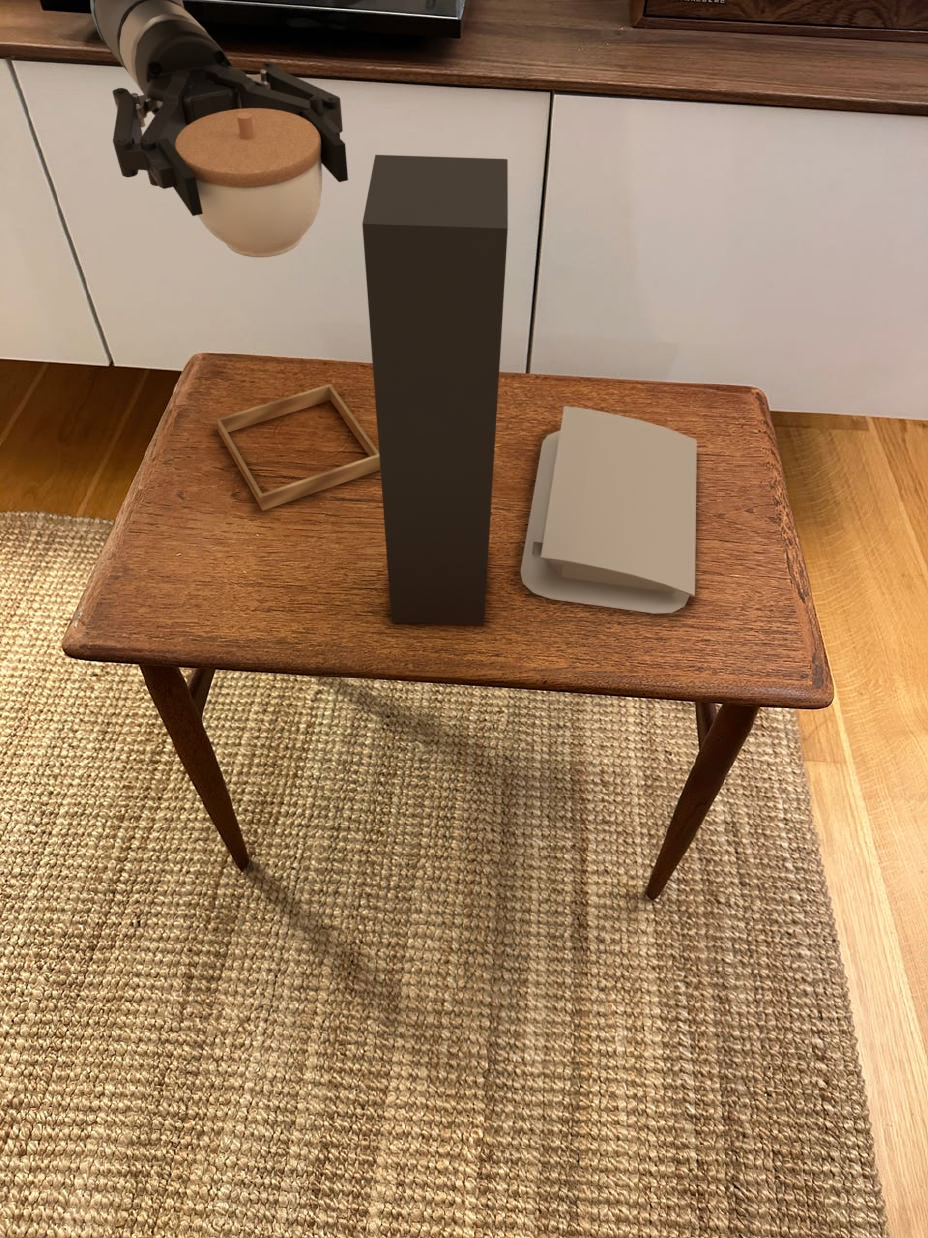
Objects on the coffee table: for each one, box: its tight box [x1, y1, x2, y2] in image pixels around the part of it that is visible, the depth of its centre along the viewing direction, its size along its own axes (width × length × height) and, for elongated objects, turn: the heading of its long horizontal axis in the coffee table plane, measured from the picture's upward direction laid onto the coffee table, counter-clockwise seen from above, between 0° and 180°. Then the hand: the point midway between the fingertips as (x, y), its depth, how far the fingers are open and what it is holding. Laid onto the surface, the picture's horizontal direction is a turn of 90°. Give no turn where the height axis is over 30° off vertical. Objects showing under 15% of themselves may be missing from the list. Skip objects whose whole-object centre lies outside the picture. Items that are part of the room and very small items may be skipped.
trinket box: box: [175, 108, 323, 258], centre depth 69 cm, size 11×11×9 cm
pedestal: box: [361, 154, 509, 627], centre depth 66 cm, size 8×8×36 cm
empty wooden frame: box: [215, 383, 380, 511], centre depth 90 cm, size 13×13×2 cm
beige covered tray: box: [519, 405, 698, 615], centre depth 85 cm, size 15×23×4 cm, turn 171°
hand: (270, 179), depth 66 cm, fingers closed on trinket box, 11 cm apart
